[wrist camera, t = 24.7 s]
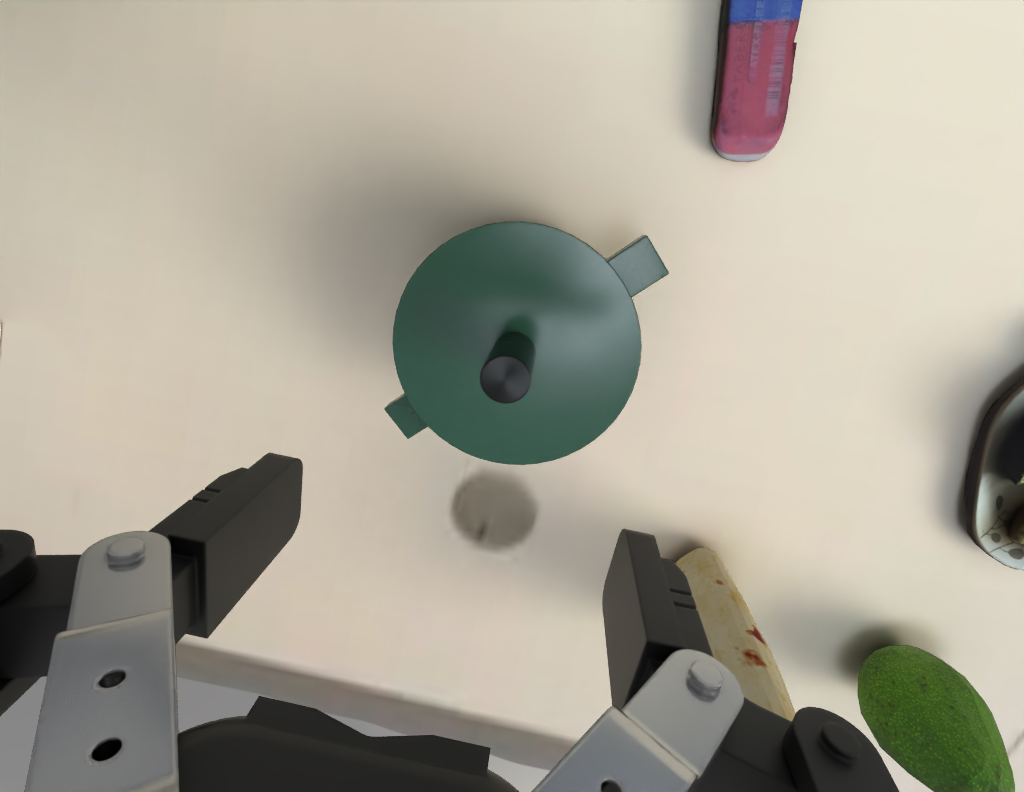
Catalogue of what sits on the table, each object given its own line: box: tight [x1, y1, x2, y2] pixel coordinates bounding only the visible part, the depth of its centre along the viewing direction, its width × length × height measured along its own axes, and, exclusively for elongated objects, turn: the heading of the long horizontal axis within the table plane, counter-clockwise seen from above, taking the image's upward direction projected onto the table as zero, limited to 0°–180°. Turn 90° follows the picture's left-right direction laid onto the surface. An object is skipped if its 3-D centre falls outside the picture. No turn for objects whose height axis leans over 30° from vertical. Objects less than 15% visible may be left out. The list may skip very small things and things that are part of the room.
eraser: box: [711, 0, 803, 162], centre depth 30 cm, size 11×4×2 cm, turn 1°
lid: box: [393, 222, 641, 465], centre depth 27 cm, size 14×14×6 cm
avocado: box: [858, 645, 1015, 792], centre depth 39 cm, size 8×8×12 cm
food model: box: [675, 547, 795, 721], centre depth 34 cm, size 10×7×20 cm
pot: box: [385, 235, 669, 439], centre depth 33 cm, size 13×18×8 cm
